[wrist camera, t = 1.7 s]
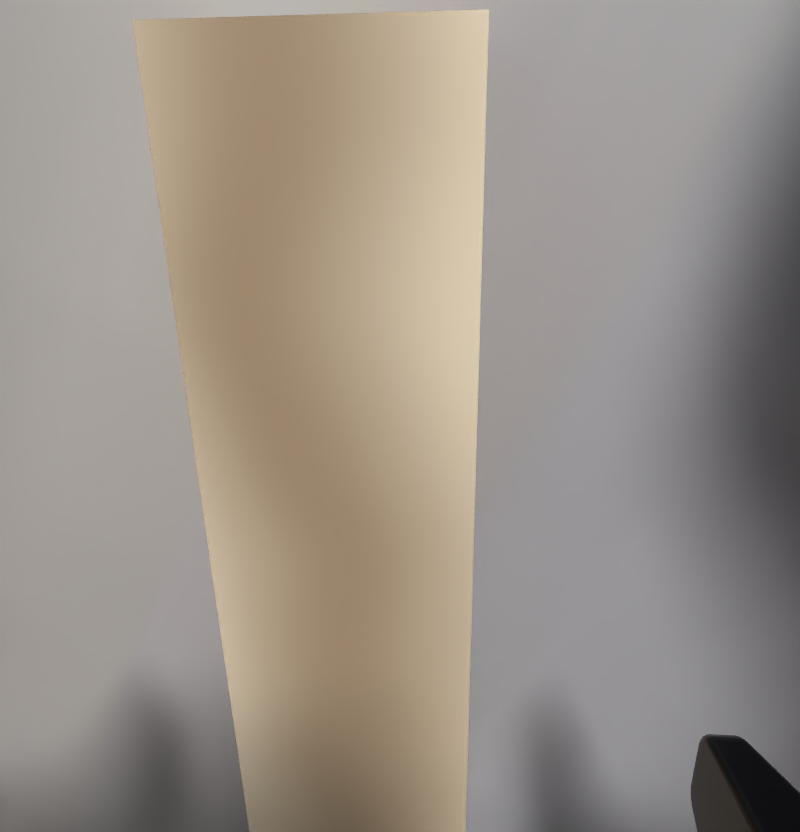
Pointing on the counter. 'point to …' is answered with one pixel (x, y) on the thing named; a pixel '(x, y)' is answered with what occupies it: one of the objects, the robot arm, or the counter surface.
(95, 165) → the counter surface
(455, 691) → the beam
